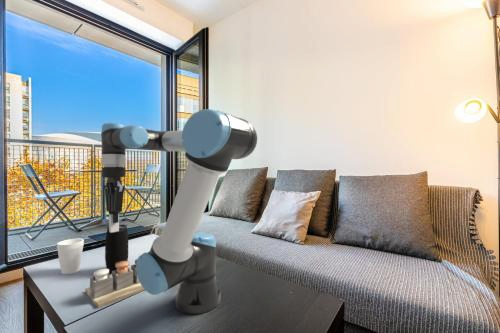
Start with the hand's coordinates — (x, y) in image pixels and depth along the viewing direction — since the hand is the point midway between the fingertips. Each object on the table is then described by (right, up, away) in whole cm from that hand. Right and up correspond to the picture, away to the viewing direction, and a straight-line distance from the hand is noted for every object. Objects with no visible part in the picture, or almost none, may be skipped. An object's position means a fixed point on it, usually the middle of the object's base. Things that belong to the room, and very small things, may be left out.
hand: (114, 231), depth 85 cm
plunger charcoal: (+6, -21, +9) cm, 23 cm away
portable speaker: (-10, -23, +20) cm, 32 cm away
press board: (+1, -23, +4) cm, 23 cm away
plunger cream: (-4, -21, -1) cm, 21 cm away
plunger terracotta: (+1, -20, +4) cm, 20 cm away
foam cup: (-30, -23, +19) cm, 42 cm away
